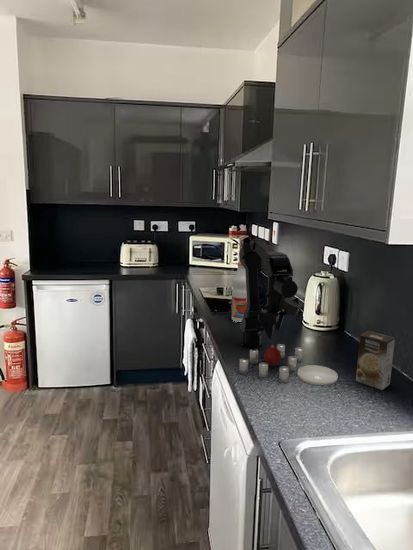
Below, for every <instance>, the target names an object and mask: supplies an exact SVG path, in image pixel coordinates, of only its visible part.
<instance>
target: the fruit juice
mask: <svg viewBox="0 0 413 550" xmlns="http://www.w3.org/2000/svg"><path fill="white" fill-rule="evenodd" d="M232 286H233V288H232V290H231V321H232V320H233V321H232V322H234V321H235V322H234V323H237V322H241V321H242V319H243V318H244V311H245V310H246V308H247V291H246V271H245V268H244V267H243V265H242V264H241V261H238V262H237V269H236V273H235V275H234V276H233V277H232Z"/></svg>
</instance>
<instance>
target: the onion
mask: <svg viewBox="0 0 413 550" xmlns="http://www.w3.org/2000/svg"><path fill="white" fill-rule="evenodd" d="M263 357H264V360H265V362H266V363H268V366H270V367H272V368H273V367H275V366H276V365H278V364H279V363H280V362H281V354H280V352H279V350H278V349H277V346H274V345H273V344H271V345H270V347H268V348H267V349H265V352H264V354H263Z"/></svg>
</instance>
